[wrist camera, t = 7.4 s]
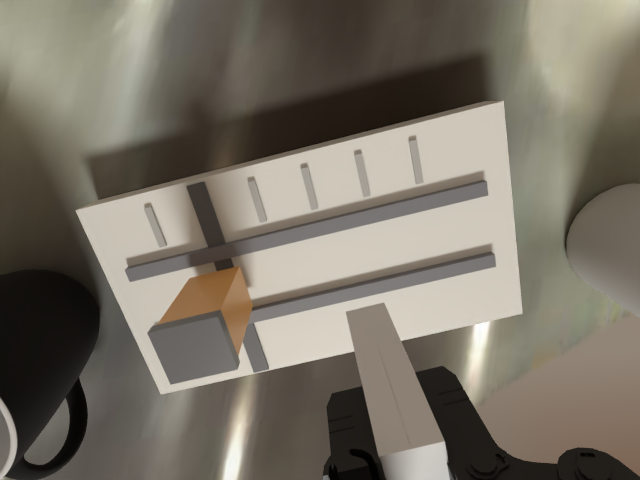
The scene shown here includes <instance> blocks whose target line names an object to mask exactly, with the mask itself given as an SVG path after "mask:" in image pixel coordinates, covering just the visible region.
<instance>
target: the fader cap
mask: <svg viewBox="0 0 640 480" xmlns="http://www.w3.org/2000/svg"><path fill="white" fill-rule="evenodd" d="M252 307H253V304H252V301H251V298H250V295H249V292H248V289H247V286H246V283H245V280H244V277H243V274H242V271H241V269H240V266H237V267H233V268H229V269H225V270H221V271H216V272H212V273H208V274H204V275H200V276H196V277H191V278H189V279H188V281H187V282H186V284H185V285H184V287H183V288H182V290H181V291H180V292H179V294H178V295H177V297H176V298H175V300H174V301H173V302H172V304H171V305H170V307H169V308H168V310H167V311H166V313H165V314H164V315H163V317H162V318H161V320H160V321H159V323H158V324H157V325H153V326H152V327H151V328H150V330H149V331H148V333H147V334H148V336H149V338H150V340H151V343H152V345H153V347H154V349H155V351H156V354H157V356H158V358H159V360H160V363H161V365H162V367H163V369H164V371H165V374H166V376H167V378H168V380H169V382H170V385H172V384H176V383H180V382H185V381H189V380H194V379H198V378H203V377H207V376H212V375H216V374H221V373H225V372H229V371H234V370H238V367H239V364H240V360H239V357H238V356H239V353H240V349H241V346H242V342H243V339H244V335H245V332H246V328H247V325H248V321H249V318H250V314H251V311H252Z"/></svg>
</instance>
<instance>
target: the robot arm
mask: <svg viewBox="0 0 640 480" xmlns="http://www.w3.org/2000/svg"><path fill="white" fill-rule="evenodd" d="M346 316H347V320H348V325H349V329H350V334H351V338H352V342H353V347H354V351H355V355H356V360H357V364H358V369H359V373H360V377H361V382H362V386H361V387H357V388H353V389H349V390H345V391H340V392H336V393H332V395H331V397H330V400H329V402H328V405H327V416H328V427H329V434H330V435H329V437H330V448H331V456H330V457H329V458H328V460H327V462H326V464H325V465H324V471H323V478H324V480H640V477H639V476H638V475H637V474H635V473H634V472H633V471H632V470H630V469H629V468H628V467H626V466H625V465H624V464H623V463H621V462H620V461H619V460H617V459H615V458H613V457H612V456H610V455H609V454H607V453H605V452H602V451H598V450H595V449H592V448H574V449H571V450H567V451H566V452H565V453H563V454H562V455H561V456H560V457H559V460H558V464H550V463H536V462H529V461H523V460H521V459H517V458H515V457H512V456H511V455H509V454H507V452H506V451H504V450H502V449H501V448H500V447H498V445H497V444H496V443H495V441H494V440H493V438H492V437H491V435H490V433H489V432H488V430H487V428H486V427H485V425H484V423H483V421H482V420H481V418H480V416H479V415H478V413H477V411H476V409H475V408H474V406H473V404H472V403H471V401H470V400H469V397H468V396H467V394H466V392H465V391H464V390H463V387H462V385H461V384H460V382H459V380H458V379H457V377H456V375H455V374H453V373H452V372H450V371H449V370H448V369H446V368H445V367H443V366H440V367H436V368H432V369H428V370H423V371H419V372H414V370H413V367H412V365H411V363H410V360H409V358H408V356H407V354H406V351H405V349H404V347H403V344H402V342H401V340H400V338H399V335H398V333H397V331H396V328H395V326H394V324H393V322H392V319H391V317H390V315H389V312H388V310H387V308H386V306H385V303H384V302H383V303H379V304H375V305H371V306H367V307H363V308H359V309H355V310H351V311H347V312H346Z"/></svg>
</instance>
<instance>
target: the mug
mask: <svg viewBox="0 0 640 480" xmlns="http://www.w3.org/2000/svg"><path fill="white" fill-rule="evenodd" d="M98 333H99V313H98V310H97V307H96V304H95V302H94V300H93V299H92V297H91V296H90V294H89V293H88V292H87V291H86V290H85V289H84V288H83V287H82V286H81V285H80V284H78V283H77V282H76V281H74V280H72V279H71V278H69V277H67V276H64V275H62V274H59V273H56V272H51V271H45V270H24V271H17V272H12V273H8V274H4V275H0V480H1V479H2V478H3V477H4V476H5V477H8V478H12V479H16V480H38V479H41V478H45V477H47V476H49V475H51V474H53V473H55V472H57V471H58V470H60V469H61V468H62V467H63V466H65V465H66V464H67V463H68V462H69V461H70V460H71V459H72V458H73V456H74V455H75V454H76V452H77V451H78V449H79V447H80V445H81V443H82V441H83V438H84V435H85V432H86V427H87V418H88V412H87V403H86V398H85V395H84V391H83V389H82V386H81V383H80V379H79V375H80V374H81V372H82V370H83V369H84V367H85V365H86V363H87V361H88V359H89V357H90V355H91V353H92V351H93V349H94V346H95V344H96V341H97V338H98ZM65 398H66V400H67V403H68V407H69V414H70V424H69V431H68V435H67V439H66V441H65V443H64V445H63V447H62V449H61V450H60V452H59V453H58V454H57V455H56V456H55V457H54V458H53V459H52V460H51V461H50V462H48V463H46V464H44V465H35V464H31V463H29V462H27V461H26V460H25V459H24V454H25V452H26V451H27V450H28V449H29V447H30V446H31V445H32V443H33V442H34V441H35V440H36V438H37V437H38V436H39V434H40V433H41V432H42V430H43V429H44V427H45V426H46V425H47V423H48V422H49V420H50V419H51V418H52V416H53V415H54V413H55V412H56V411H57V409H58V408H59V406H60V405H61V403H62V402H63V400H64V399H65Z"/></svg>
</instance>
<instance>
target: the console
mask: <svg viewBox="0 0 640 480" xmlns="http://www.w3.org/2000/svg"><path fill="white" fill-rule="evenodd" d="M75 211H76V213H77V215H78V217H79V219H80V222H81V224H82V226H83V228H84V230H85V232H86V234H87V237H88V239H89V241H90V243H91V245H92V247H93V249H94V252H95V254H96V256H97V258H98V260H99V262H100V264H101V267H102V269H103V271H104V273H105V275H106V277H107V280H108V282H109V284H110V286H111V288H112V290H113V292H114V295H115V297H116V299H117V301H118V303H119V305H120V307H121V310H122V312H123V314H124V316H125V318H126V320H127V322H128V325H129V327H130V329H131V331H132V333H133V335H134V337H135V340H136V342H137V344H138V346H139V348H140V350H141V352H142V355H143V357H144V359H145V361H146V363H147V365H148V367H149V370H150V372H151V374H152V376H153V378H154V380H155V383H156V385H157V387H158V389H159V391H160V393H161V394H165V393H170V392H174V391H179V390H183V389H188V388H192V387H197V386H201V385H206V384H210V383H214V382H219V381H223V380H228V379H232V378H237V377H241V376H246V375H250V374H255V373H259V372H264V371H268V370H273V369H277V368H282V367H286V366H291V365H295V364H299V363H304V362H308V361H313V360H317V359H322V358H326V357H331V356H335V355H340V354H344V353H349V352H353V351H354V347H353V342H352V338H351V334H350V329H349V325H348V320H347V316H346V312H347V311H351V310H355V309H359V308H363V307H367V306H371V305H375V304H379V303H383V302H384V303H385V306H386V308H387V310H388V312H389V315H390V317H391V319H392V322H393V324H394V326H395V328H396V331H397V333H398V335H399V338H400V340H401V341H402V340H407V339H411V338H416V337H420V336H425V335H429V334H434V333H438V332H443V331H447V330H451V329H456V328H460V327H465V326H469V325H474V324H478V323H483V322H487V321H492V320H496V319H501V318H505V317H510V316H514V315H519V314H523V313H522V302H521V291H520V280H519V269H518V257H517V246H516V235H515V224H514V213H513V201H512V190H511V179H510V168H509V157H508V145H507V134H506V123H505V112H504V101H483V102H479V103H475V104H471V105H467V106H464V107H460V108H456V109H452V110H448V111H444V112H440V113H436V114H432V115H428V116H424V117H421V118H417V119H413V120H409V121H405V122H401V123H397V124H393V125H389V126H385V127H381V128H378V129H374V130H370V131H366V132H362V133H358V134H354V135H350V136H346V137H342V138H339V139H335V140H331V141H327V142H323V143H319V144H315V145H311V146H307V147H303V148H299V149H296V150H292V151H288V152H284V153H280V154H276V155H272V156H268V157H264V158H260V159H256V160H253V161H249V162H245V163H241V164H237V165H233V166H229V167H225V168H221V169H217V170H213V171H210V172H206V173H202V174H198V175H194V176H190V177H186V178H182V179H178V180H174V181H170V182H167V183H163V184H159V185H155V186H151V187H147V188H143V189H139V190H135V191H131V192H128V193H124V194H120V195H116V196H112V197H108V198H104V199H100V200H97V201H95V202H93V203H90V204H88V205H86V206H84V207H82V208H79V209H77V210H75ZM237 266H240V269H241V271H242V274H243V277H244V280H245V283H246V286H247V289H248V292H249V295H250V298H251V301H252V304H253V307H252V311H251V314H250V318H249V321H248V325H247V328H246V332H245V335H244V339H243V342H242V346H241V349H240V353H239V356H238V357H239V360H240V364H239V367H238V370H234V371H229V372H225V373H221V374H216V375H212V376H207V377H203V378H198V379H194V380H189V381H185V382H180V383H176V384H172V385H170V382H169V380H168V378H167V376H166V374H165V371H164V369H163V367H162V365H161V363H160V360H159V358H158V356H157V354H156V351H155V349H154V347H153V345H152V343H151V340H150V338H149V336H148V334H147V333H148V331H149V330H150V328H151V327H152V326H153V325H157V324H158V323H159V321H160V320H161V318H162V317H163V315H164V314H165V313H166V311H167V310H168V308H169V307H170V305H171V304H172V302H173V301H174V300H175V298H176V297H177V295H178V294H179V292H180V291H181V290H182V288H183V287H184V285H185V284H186V282H187V281H188V279H189V278H191V277H196V276H200V275H204V274H208V273H212V272H216V271H221V270H225V269H229V268H233V267H237Z"/></svg>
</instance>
